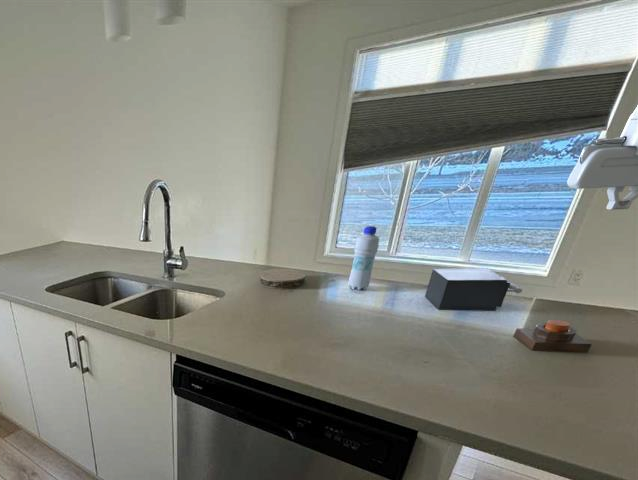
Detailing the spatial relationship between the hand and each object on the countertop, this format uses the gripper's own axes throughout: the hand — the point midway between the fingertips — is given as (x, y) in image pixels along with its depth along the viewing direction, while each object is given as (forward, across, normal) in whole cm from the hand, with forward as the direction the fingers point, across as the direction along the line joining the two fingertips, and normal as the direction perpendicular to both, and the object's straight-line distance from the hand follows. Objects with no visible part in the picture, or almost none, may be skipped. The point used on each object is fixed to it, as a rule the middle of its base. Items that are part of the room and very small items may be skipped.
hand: (616, 209), depth 87 cm
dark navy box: (+27, -16, +16) cm, 35 cm away
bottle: (+27, -40, +30) cm, 57 cm away
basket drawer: (+26, -12, +16) cm, 33 cm away
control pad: (+27, -8, -12) cm, 31 cm away
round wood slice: (+27, -64, +37) cm, 79 cm away
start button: (+24, -8, -12) cm, 28 cm away
